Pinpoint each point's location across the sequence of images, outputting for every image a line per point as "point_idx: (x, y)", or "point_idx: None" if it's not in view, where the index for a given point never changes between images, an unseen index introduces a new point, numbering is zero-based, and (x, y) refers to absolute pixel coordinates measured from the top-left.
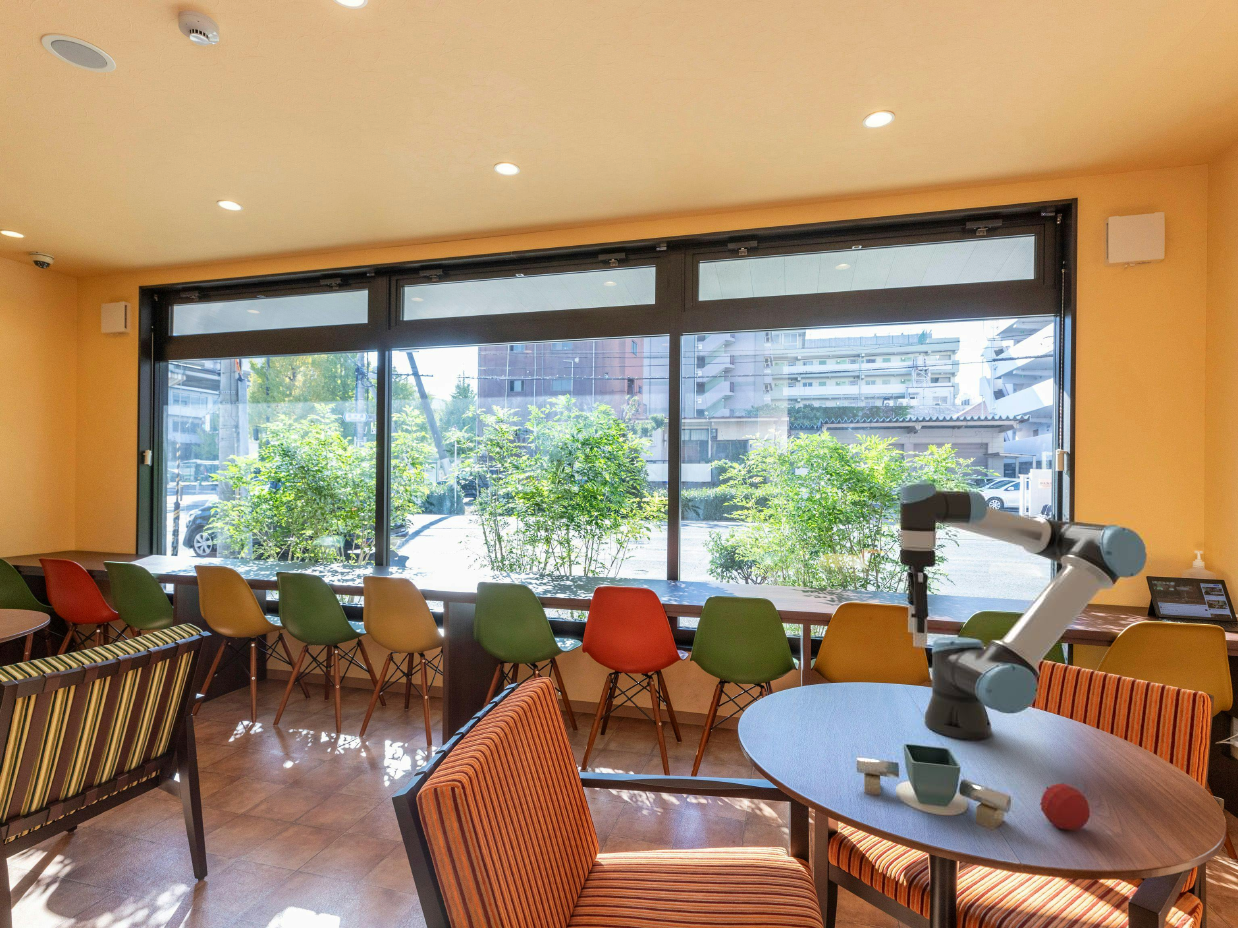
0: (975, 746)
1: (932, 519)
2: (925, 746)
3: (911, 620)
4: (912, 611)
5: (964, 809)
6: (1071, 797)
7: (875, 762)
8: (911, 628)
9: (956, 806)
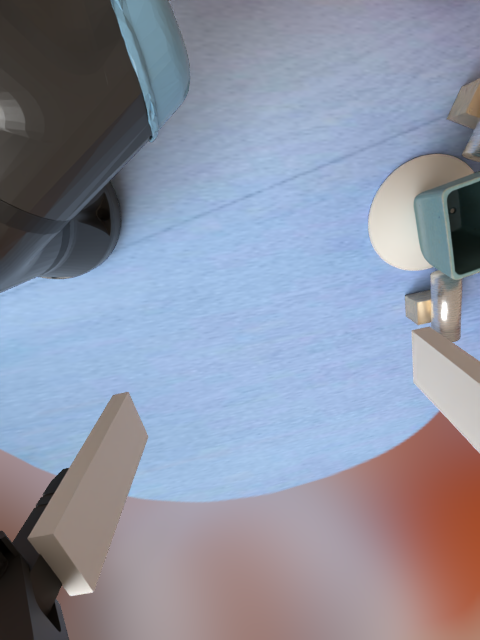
0: (135, 164)
1: None
2: (450, 238)
3: (123, 476)
4: (101, 527)
5: (454, 157)
6: None
7: (459, 311)
8: (139, 440)
9: (447, 171)
